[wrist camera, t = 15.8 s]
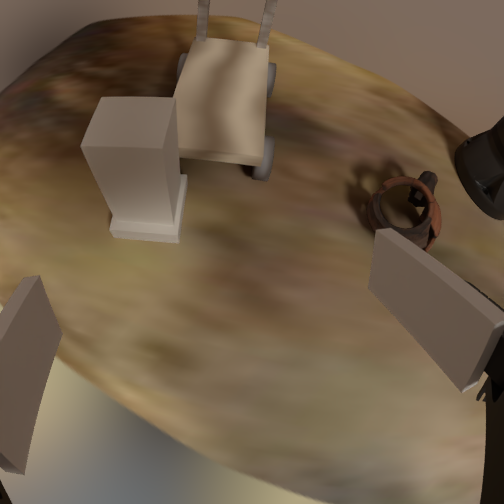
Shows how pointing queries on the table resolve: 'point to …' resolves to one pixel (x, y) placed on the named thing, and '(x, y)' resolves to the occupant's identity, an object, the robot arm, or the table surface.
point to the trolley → (226, 97)
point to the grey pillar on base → (138, 166)
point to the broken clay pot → (419, 198)
